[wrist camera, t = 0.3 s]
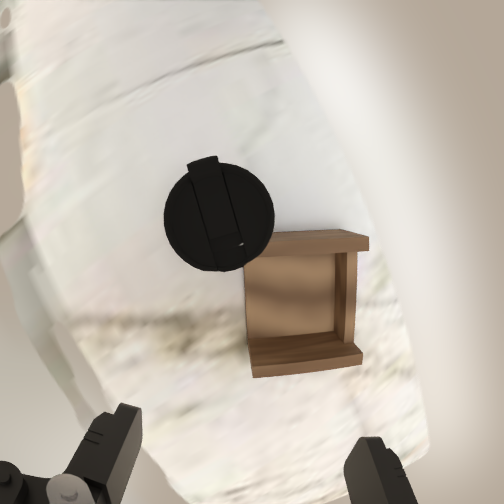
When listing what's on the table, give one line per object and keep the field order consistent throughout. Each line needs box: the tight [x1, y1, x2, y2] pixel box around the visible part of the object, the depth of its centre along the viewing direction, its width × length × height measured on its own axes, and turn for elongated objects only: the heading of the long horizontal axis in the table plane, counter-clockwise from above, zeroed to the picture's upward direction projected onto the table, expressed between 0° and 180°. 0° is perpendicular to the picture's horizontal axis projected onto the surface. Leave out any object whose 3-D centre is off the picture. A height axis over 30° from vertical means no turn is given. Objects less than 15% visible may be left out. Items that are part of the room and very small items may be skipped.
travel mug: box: [164, 156, 275, 272], centre depth 27 cm, size 6×7×20 cm
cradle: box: [244, 229, 369, 378], centre depth 34 cm, size 14×12×8 cm
